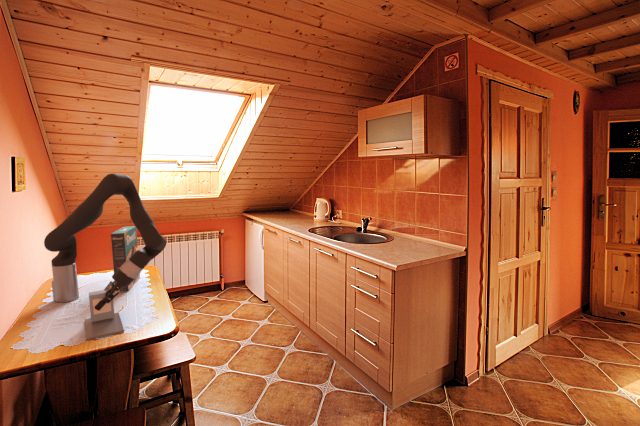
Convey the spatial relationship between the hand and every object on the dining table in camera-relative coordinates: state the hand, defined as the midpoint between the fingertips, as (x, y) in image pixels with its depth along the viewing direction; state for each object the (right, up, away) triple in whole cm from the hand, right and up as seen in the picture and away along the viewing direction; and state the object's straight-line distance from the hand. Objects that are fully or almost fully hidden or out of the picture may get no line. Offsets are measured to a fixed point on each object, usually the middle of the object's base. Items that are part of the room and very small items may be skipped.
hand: (96, 307), depth 142 cm
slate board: (+4, -7, -2) cm, 9 cm away
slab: (+2, -5, +2) cm, 5 cm away
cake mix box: (-13, -1, +48) cm, 49 cm away
